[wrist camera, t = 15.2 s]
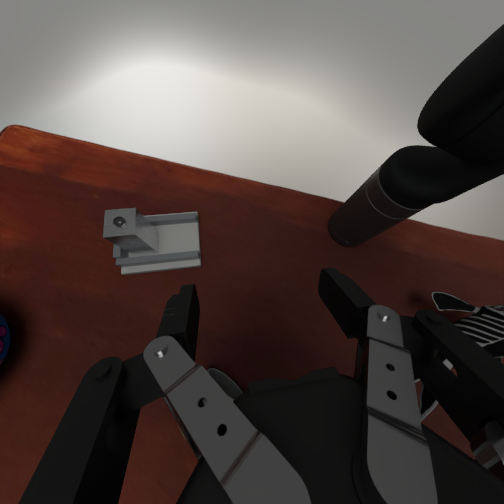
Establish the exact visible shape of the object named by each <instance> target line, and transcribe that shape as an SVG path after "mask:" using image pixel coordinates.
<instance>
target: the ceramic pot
mask: <svg viewBox="0 0 504 504" xmlns="http://www.w3.org/2000/svg"><path fill="white" fill-rule="evenodd" d="M9 344H10V330H9V327H8V325H7V322H6V320H5V318H4V317H3V316H2V315H0V365H1V363H2V362H3V360H4V359H5V357H6V355H7V352H8V348H9Z"/></svg>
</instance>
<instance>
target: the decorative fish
mask: <svg viewBox="0 0 504 504" xmlns="http://www.w3.org/2000/svg"><path fill="white" fill-rule="evenodd" d="M432 299H433V301H434V302H435V304H436V306H437V308H438V310H440V311H443V310H458V311H465V312H472V313H473V315H471V316H468V317H465V318H463V319H460V320H458V321H456V322H454V323H453V324H454V325H455V326H457V327H458V328H459V329H460V330H462V331H463V332H464V333H465V334H466V335H468V336H469V337H470V338H471V339H473V340H474V341H475V342H476V343H478V344H479V345H480V346H481V347H482V348H484V349H485V350H486V351H487V352H489V353H490V354H491V355H492V356H494V357H495V358H496V359H497V360H498V361H500V362H501V359H502V357H504V305H497V306H490V305H489V306H483V307H481V308H477V307H474V306H472V305H470V304H468V303H466V302H464V301H462V300H460V299H458V298H456V297H454V296H452V295H449V294H446V293H442V292H433V293H432ZM436 356H437V357H438V358H439V359H440V360H441V361H442V362H443V363H444V364H445V365H446V366H447V367H448V368H449V369H450V370H451V369H452V367H453V365H452V364H451V363H450V362H449V361H448V360H447V359H446V358H445V357H444V356H443V355H442V354H441V353H440V352H439V351H438V353H437V354H436ZM413 375H414V381H415V382H417V381H419V380H420V379H419V378H418V377H417V375H416V374H415V373H414V372H413ZM421 385H422V390H421V393H420V395H419V396H420V400H419V401H420V407H419V415H420V422H421V421H422V420H423V419H424V418H425V417H426V416H427V415H428V414H429V413H430V412H431V411H432V410H433V409H434V408H435V407H436V405H437V404H438V402H437V400H436V399H435V398H434V397H433V395H432V394H431V393H430V392H429V390H428V389H427V388H426V387H425V385H424V384H423V383H421Z"/></svg>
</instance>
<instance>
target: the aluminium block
mask: <svg viewBox="0 0 504 504" xmlns="http://www.w3.org/2000/svg"><path fill="white" fill-rule="evenodd" d="M103 238H105V239H107V240H109V241H110V242H112V243H114V244H115V245H117V246H119V247H121V248H122V249H124V250H126V251H128V252H129V253H131V254H133V255H144V254H153V253H159V232H158V231H157V230H156V229H155V228H154V227H153V225H152V224H151V223H150V222H149V221H148V220H147V219H146V218H145V217H144V216H143V215H142V214H141V213H140V212H139V211H138V210H137V209H136V208H127V209H115V210H105V219H104V233H103Z"/></svg>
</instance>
